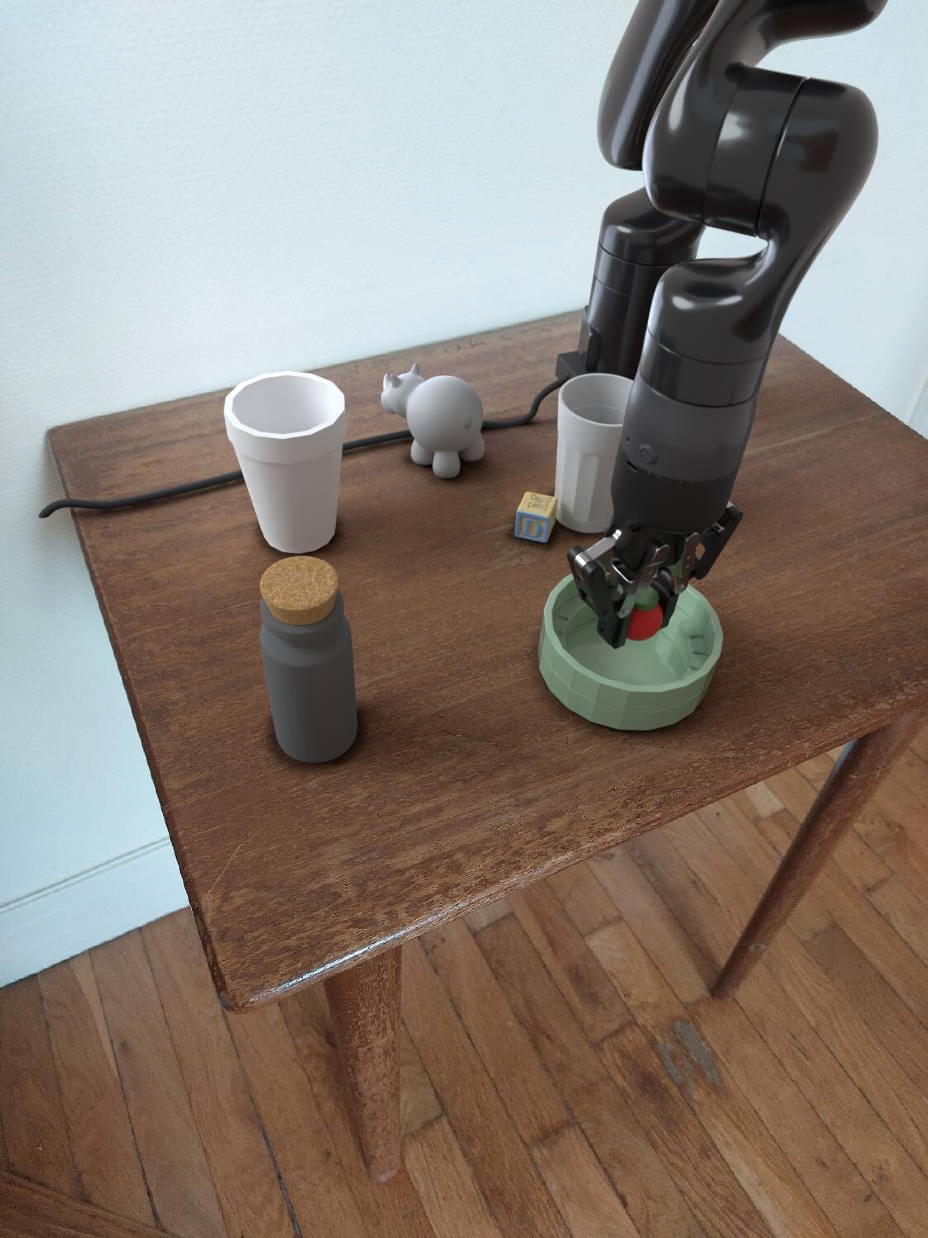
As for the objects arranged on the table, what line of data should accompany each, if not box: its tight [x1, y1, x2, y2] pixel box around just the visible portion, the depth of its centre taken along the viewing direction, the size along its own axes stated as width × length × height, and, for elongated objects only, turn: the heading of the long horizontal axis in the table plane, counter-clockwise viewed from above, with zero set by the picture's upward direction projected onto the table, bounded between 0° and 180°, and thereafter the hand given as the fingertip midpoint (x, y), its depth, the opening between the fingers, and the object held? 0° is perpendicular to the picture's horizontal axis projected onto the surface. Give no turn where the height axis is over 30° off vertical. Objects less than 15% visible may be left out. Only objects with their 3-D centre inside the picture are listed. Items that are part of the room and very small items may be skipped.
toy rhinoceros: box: [380, 362, 486, 479], centre depth 87 cm, size 7×12×8 cm, turn 45°
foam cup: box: [223, 370, 347, 555], centre depth 76 cm, size 10×9×13 cm
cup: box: [553, 373, 634, 534], centre depth 80 cm, size 8×8×12 cm
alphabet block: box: [514, 491, 558, 544], centre depth 81 cm, size 3×3×3 cm
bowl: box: [537, 573, 724, 731], centre depth 69 cm, size 13×13×5 cm
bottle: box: [259, 555, 358, 764], centre depth 60 cm, size 6×6×15 cm
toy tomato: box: [627, 586, 663, 641], centre depth 67 cm, size 4×4×4 cm
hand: (632, 630), depth 68 cm, fingers closed on toy tomato, 3 cm apart
